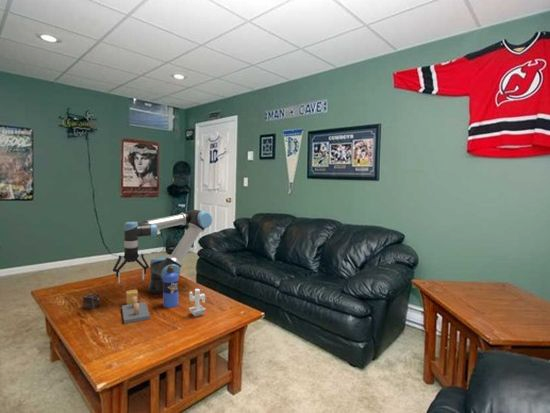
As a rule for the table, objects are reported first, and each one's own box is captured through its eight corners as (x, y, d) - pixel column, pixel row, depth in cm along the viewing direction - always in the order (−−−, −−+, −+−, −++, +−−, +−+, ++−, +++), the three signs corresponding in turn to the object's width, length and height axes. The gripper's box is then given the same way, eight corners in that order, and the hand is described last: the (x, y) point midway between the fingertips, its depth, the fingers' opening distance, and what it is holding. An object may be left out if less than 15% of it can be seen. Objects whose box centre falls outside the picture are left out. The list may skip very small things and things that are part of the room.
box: (91, 309, 181) (91, 297, 180) (83, 308, 182) (82, 296, 181) (99, 305, 187) (99, 294, 186) (91, 304, 188) (90, 293, 187)
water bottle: (181, 304, 190) (181, 265, 188) (167, 309, 184) (167, 268, 182) (173, 300, 197) (173, 262, 195) (160, 304, 190) (159, 265, 188)
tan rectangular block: (137, 301, 194) (136, 289, 194) (138, 304, 189) (137, 292, 188) (126, 303, 191) (126, 290, 191) (127, 306, 186) (127, 293, 186)
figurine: (207, 314, 178) (207, 289, 176) (192, 318, 172) (192, 292, 170) (202, 310, 183) (202, 286, 182) (187, 314, 177) (187, 289, 176)
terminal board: (145, 304, 189) (145, 292, 189) (150, 319, 170) (149, 305, 170) (122, 308, 183) (121, 295, 182) (124, 323, 164) (123, 309, 163)
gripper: (151, 244, 197) (152, 276, 198) (108, 247, 184) (108, 281, 186) (153, 246, 190) (153, 279, 192) (108, 249, 178) (108, 285, 179)
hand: (131, 280), depth 189 cm, fingers open, 13 cm apart
